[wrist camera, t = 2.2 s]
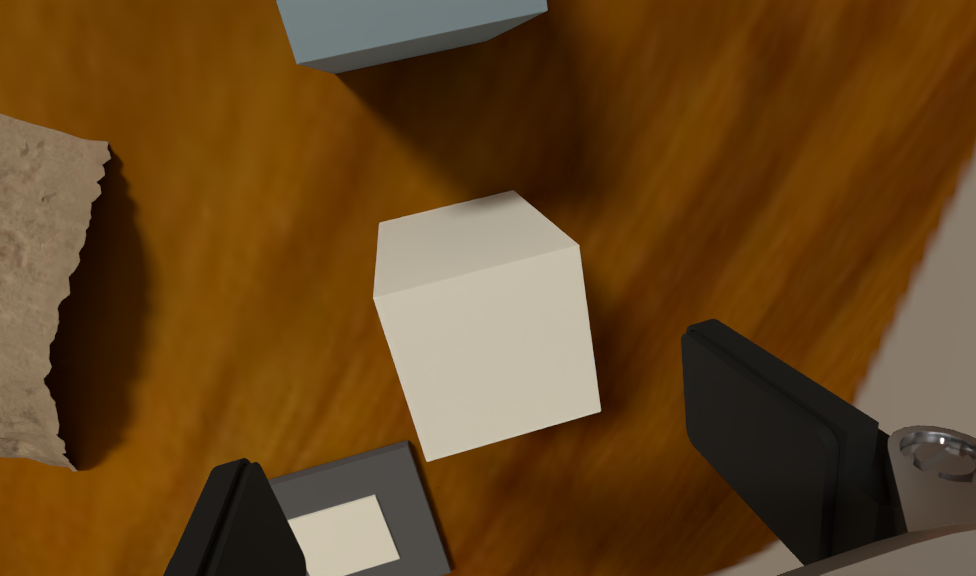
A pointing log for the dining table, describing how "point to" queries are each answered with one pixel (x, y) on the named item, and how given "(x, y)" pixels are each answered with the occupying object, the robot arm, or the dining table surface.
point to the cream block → (485, 322)
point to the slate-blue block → (393, 28)
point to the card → (363, 516)
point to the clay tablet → (38, 271)
